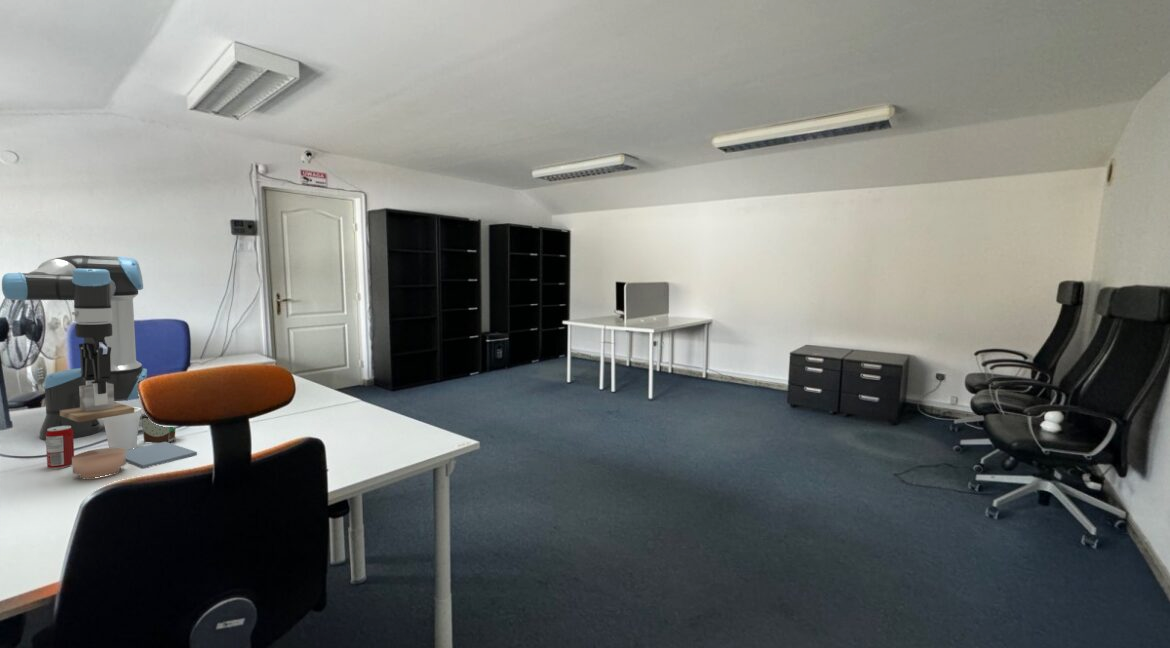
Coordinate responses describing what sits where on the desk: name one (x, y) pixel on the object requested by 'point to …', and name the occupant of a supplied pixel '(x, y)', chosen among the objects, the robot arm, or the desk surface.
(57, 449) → the soda can
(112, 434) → the foam cup
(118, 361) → the robot arm
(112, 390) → the lid
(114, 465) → the bowl
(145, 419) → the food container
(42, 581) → the desk surface
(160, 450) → the mat
